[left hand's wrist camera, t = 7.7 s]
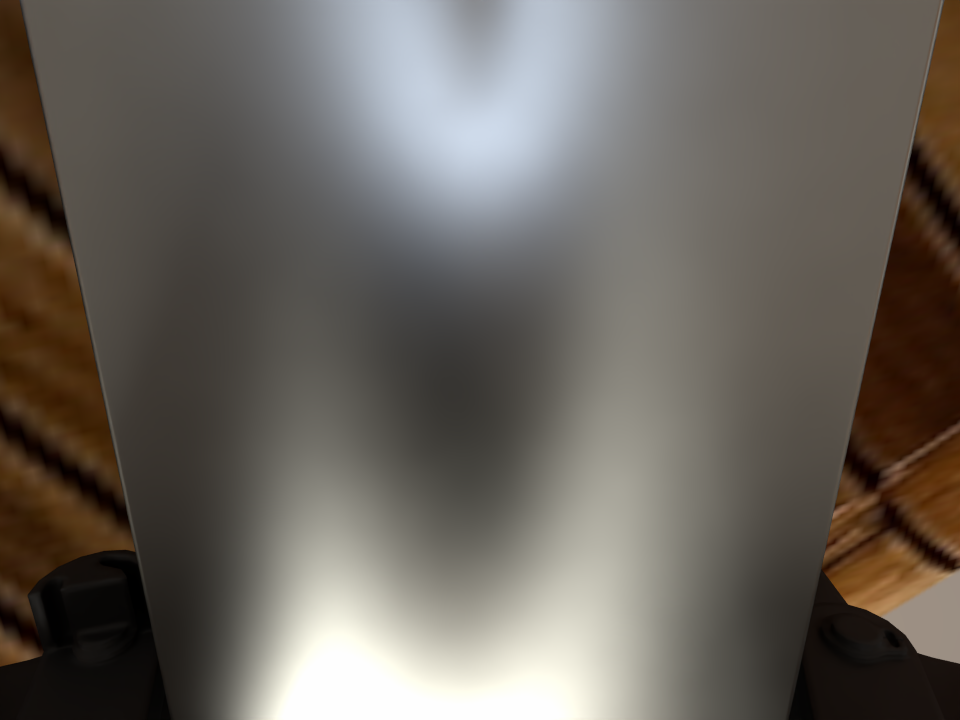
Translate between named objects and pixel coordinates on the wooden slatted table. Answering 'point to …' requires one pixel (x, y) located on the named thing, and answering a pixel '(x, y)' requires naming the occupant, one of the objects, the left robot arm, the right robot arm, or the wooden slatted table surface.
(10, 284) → the wooden slatted table surface
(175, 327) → the bar
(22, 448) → the wooden slatted table surface
